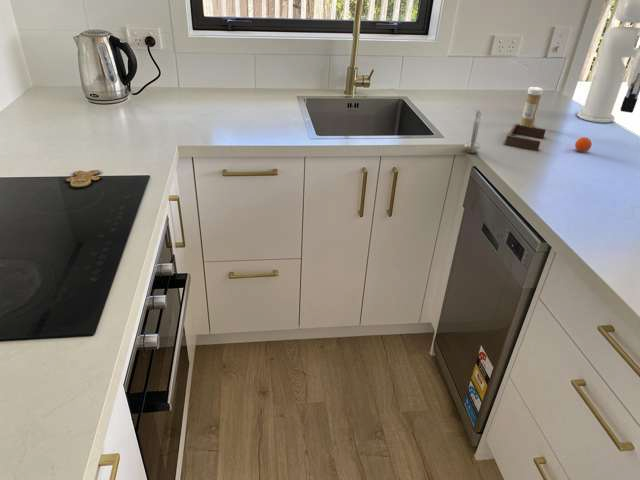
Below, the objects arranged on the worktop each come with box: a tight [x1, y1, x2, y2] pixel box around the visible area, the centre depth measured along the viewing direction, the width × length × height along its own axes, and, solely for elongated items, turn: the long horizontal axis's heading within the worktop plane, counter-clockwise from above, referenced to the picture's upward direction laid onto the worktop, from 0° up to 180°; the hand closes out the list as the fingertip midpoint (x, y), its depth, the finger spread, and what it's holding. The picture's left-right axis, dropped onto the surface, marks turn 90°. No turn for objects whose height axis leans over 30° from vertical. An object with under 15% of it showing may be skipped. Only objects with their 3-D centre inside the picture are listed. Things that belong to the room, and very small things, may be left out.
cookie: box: [65, 169, 101, 189], centre depth 126 cm, size 8×1×10 cm
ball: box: [574, 136, 593, 153], centre depth 150 cm, size 4×4×4 cm
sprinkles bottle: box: [519, 86, 544, 127], centre depth 167 cm, size 5×5×14 cm
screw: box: [463, 110, 482, 154], centre depth 146 cm, size 13×5×5 cm
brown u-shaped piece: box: [504, 123, 547, 152], centre depth 158 cm, size 14×10×3 cm
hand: (626, 111), depth 141 cm, fingers closed
